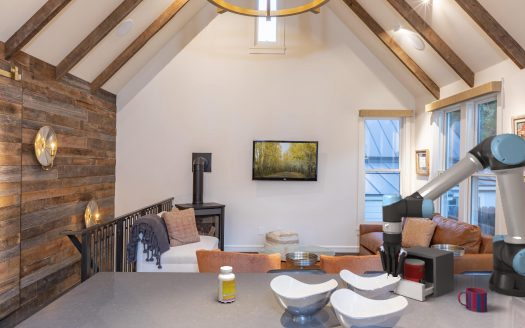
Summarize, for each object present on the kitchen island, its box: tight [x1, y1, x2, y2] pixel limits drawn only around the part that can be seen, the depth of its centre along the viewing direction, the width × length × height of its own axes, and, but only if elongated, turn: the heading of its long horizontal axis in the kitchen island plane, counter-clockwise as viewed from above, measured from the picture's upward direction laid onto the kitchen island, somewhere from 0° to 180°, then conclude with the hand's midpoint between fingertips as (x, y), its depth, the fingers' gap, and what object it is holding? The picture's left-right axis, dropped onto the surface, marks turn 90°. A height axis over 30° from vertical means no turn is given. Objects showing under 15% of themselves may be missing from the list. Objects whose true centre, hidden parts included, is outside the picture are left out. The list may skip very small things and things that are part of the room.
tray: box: [394, 278, 434, 302], centre depth 154 cm, size 15×15×6 cm
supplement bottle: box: [217, 265, 236, 303], centre depth 146 cm, size 7×7×13 cm
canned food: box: [404, 259, 425, 285], centre depth 154 cm, size 8×8×11 cm
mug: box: [457, 286, 488, 313], centre depth 137 cm, size 7×10×7 cm
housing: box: [399, 245, 455, 298], centre depth 159 cm, size 16×14×16 cm
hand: (392, 290), depth 152 cm, fingers closed
